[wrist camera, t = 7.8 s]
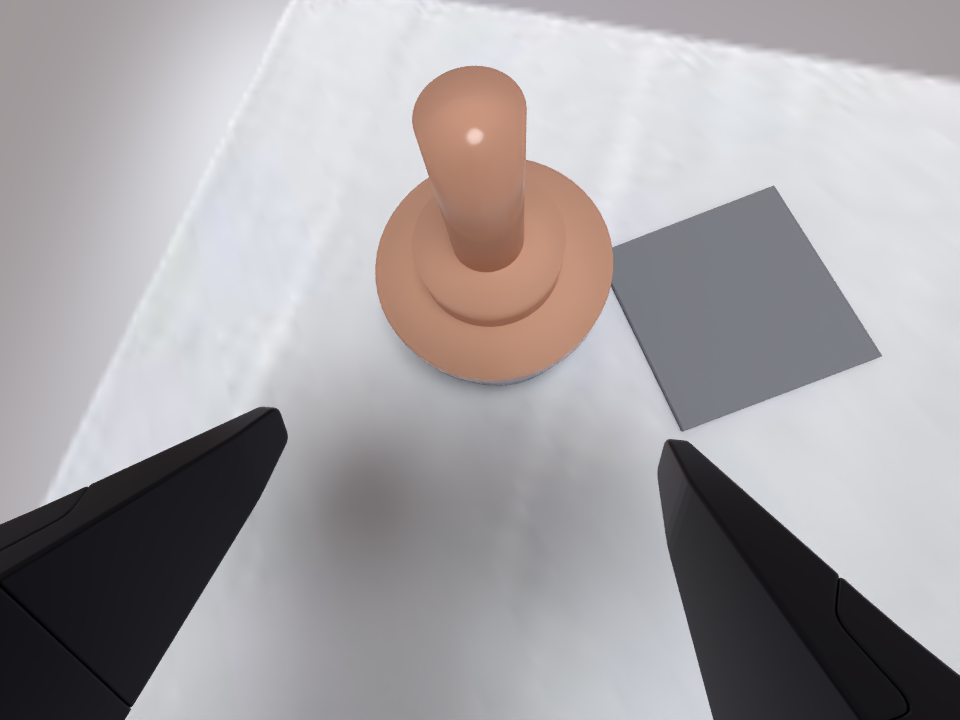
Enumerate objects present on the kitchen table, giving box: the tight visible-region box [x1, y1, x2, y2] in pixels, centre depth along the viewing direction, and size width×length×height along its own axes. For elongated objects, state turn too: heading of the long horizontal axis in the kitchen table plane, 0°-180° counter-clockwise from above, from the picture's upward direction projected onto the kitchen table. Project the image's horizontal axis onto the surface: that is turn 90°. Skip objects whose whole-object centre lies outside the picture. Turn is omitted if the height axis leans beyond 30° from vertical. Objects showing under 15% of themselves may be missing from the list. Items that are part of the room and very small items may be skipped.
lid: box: [375, 66, 613, 383], centre depth 16 cm, size 11×11×10 cm
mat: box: [611, 186, 882, 431], centre depth 23 cm, size 11×11×1 cm
